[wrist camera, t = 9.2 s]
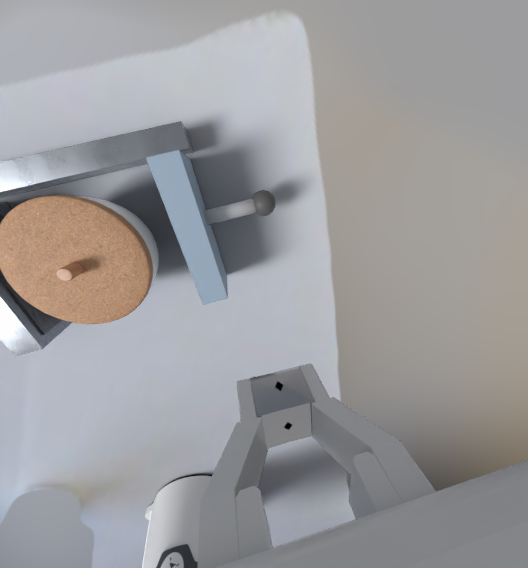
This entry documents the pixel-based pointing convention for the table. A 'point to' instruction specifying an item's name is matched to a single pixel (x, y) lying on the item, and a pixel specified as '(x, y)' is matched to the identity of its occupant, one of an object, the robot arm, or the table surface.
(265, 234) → the table surface
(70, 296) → the lidded jar
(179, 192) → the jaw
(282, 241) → the table surface
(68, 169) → the vise body
